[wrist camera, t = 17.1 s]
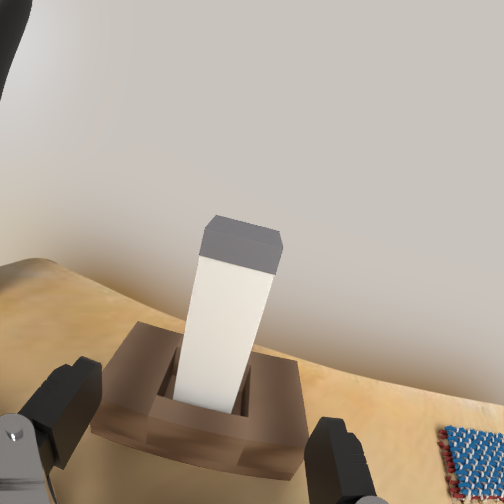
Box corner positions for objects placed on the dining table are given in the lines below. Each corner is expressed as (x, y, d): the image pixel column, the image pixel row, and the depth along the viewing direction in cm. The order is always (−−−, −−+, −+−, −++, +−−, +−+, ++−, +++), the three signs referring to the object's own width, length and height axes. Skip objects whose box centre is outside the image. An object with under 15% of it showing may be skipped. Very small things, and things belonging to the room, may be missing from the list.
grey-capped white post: (168, 418, 20) (205, 227, 16) (180, 384, 24) (216, 214, 20) (225, 432, 20) (283, 247, 16) (229, 397, 24) (279, 231, 20)
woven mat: (431, 433, 25) (441, 419, 25) (499, 443, 23) (509, 430, 22) (444, 509, 15) (459, 496, 15) (521, 507, 13) (535, 494, 12)
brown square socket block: (91, 432, 17) (87, 393, 16) (134, 357, 27) (137, 321, 26) (289, 480, 18) (310, 448, 17) (283, 394, 28) (296, 361, 26)
